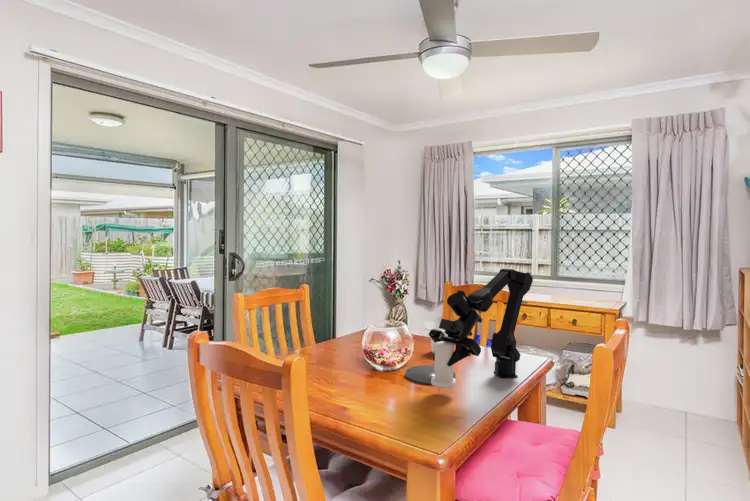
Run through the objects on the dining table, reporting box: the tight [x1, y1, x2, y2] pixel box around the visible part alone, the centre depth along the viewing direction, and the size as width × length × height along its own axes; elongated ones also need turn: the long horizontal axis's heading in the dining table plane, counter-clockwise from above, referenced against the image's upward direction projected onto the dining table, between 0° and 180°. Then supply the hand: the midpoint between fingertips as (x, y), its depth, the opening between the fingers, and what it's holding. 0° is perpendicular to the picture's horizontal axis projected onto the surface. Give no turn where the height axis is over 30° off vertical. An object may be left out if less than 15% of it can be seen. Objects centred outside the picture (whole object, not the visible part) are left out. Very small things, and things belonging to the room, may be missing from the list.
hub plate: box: [405, 364, 457, 386], centre depth 162 cm, size 18×18×1 cm
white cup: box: [430, 327, 448, 354], centre depth 194 cm, size 8×8×10 cm
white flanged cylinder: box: [431, 341, 457, 389], centre depth 143 cm, size 8×8×13 cm
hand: (441, 363), depth 142 cm, fingers closed on white flanged cylinder, 6 cm apart
